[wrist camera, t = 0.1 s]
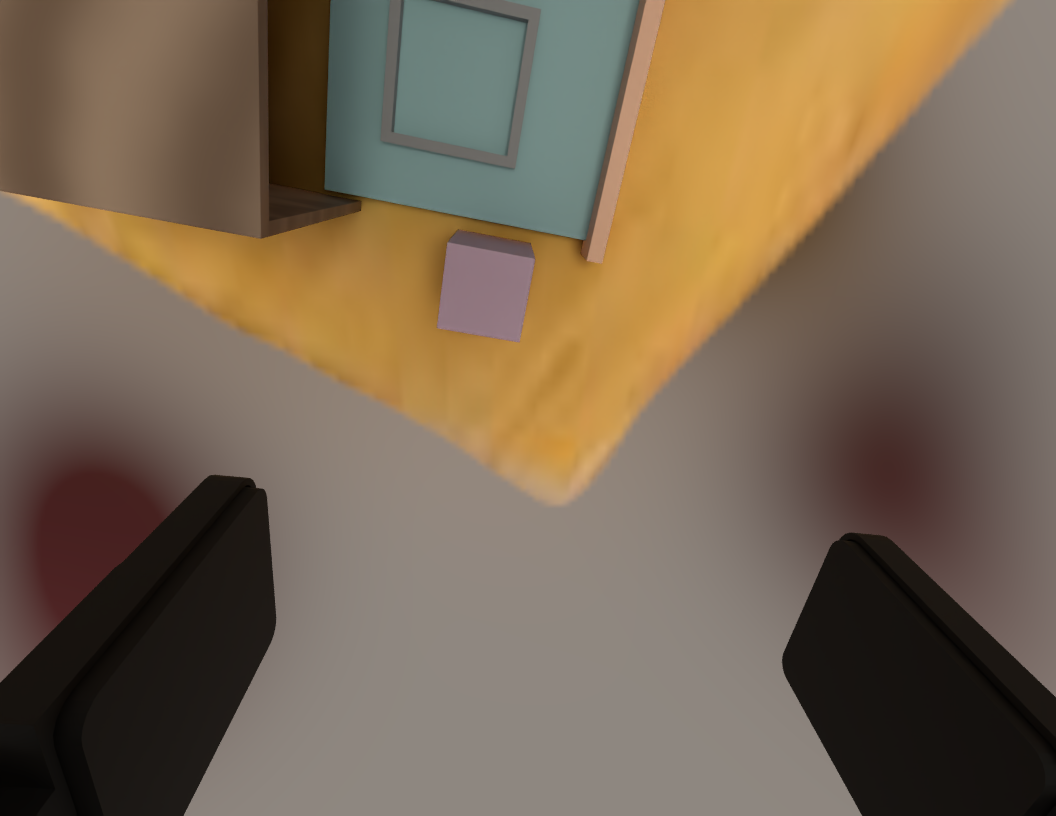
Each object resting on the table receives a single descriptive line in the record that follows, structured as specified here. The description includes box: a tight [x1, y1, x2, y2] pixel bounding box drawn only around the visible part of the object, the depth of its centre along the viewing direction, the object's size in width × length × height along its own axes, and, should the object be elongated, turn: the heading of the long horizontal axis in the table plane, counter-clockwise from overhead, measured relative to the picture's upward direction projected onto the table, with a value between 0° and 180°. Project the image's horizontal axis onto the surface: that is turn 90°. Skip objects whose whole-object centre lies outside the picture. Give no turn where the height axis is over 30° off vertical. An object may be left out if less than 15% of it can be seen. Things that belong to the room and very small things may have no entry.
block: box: [437, 229, 535, 342], centre depth 34 cm, size 5×5×7 cm
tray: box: [325, 0, 665, 264], centre depth 31 cm, size 18×17×3 cm
